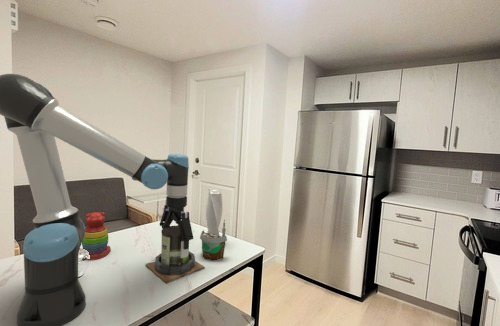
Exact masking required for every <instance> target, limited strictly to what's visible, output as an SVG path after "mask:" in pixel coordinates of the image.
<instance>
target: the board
mask: <svg viewBox="0 0 500 326" xmlns="http://www.w3.org/2000/svg"><path fill="white" fill-rule="evenodd" d="M188 262H189V261H188ZM144 265H145V267H146V268H147V269H148V271H149V270H150V272H152V273H153V274H154V275H155V276H156V277H157V278H159V279H160V280H161V281H162V282H163V283H165V284H170V283H171V282H174V281H177V280H179V279H182V278H185V277H187V276H190V275H192V274H195V273H197V272H200V271H202V270H205V268H206V267H205V266H204V265H203V264H202V263H200V262H198V261H196V260H195V266H194V267H193V268H192V270H191V271H189V272H186V273H184V274H181V275H164V274H160V273H158V272H157V271H156V270H155V260H154V261H151V262H148V263H145V264H144Z"/></svg>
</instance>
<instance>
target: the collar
mask: <svg viewBox="0 0 500 326" xmlns="http://www.w3.org/2000/svg"><path fill="white" fill-rule="evenodd" d="M195 257H196V256H195V254H194V253H193V252H191V251H189V258H188V261H189V262H187V263H184V264H182V265H174V266H169V265H164V264H162V263H161V253H159V254H158V255H156V256H155V260H154V261H155V270H156V271H157V272H158V273H160V274H164V275H181V274H184V273H186V272H189V271H191V270H192V268H193V267H194V266H195V261H196V259H195Z"/></svg>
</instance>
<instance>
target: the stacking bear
mask: <svg viewBox="0 0 500 326" xmlns="http://www.w3.org/2000/svg"><path fill="white" fill-rule="evenodd" d="M105 216H106V213H105V212H104V211H103V212H98V211H97V212H96V211H94V212H91V213H90V212H89V213H87V214H86V215H85V223H86V227H85V236H84V239H83V241H82V243H81V246H82V250H83V249H85V250H87V251H88V252H89V255H90V260H89V261H92V260H93V261H95V260H99V259H102V258H104V257H106V256H107V255H108V254H110V252H112V251H111V246H109V245H108V244H109V232H108V229H107V227H106V225H104V224H105V220H106V218H105Z"/></svg>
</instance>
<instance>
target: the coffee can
mask: <svg viewBox="0 0 500 326" xmlns="http://www.w3.org/2000/svg"><path fill="white" fill-rule="evenodd" d="M181 240H182V236H181V233H180V230H179V227H178V225H170V226H169V227H165V228H163V229H162V228H161V251H160V254H161V263H162V264H164V265H169V266H174V265H182V264H184V263H187V262H188V258H189V252H190V250H189V249H188V256H187V257H184V258H180V257H181Z"/></svg>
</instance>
